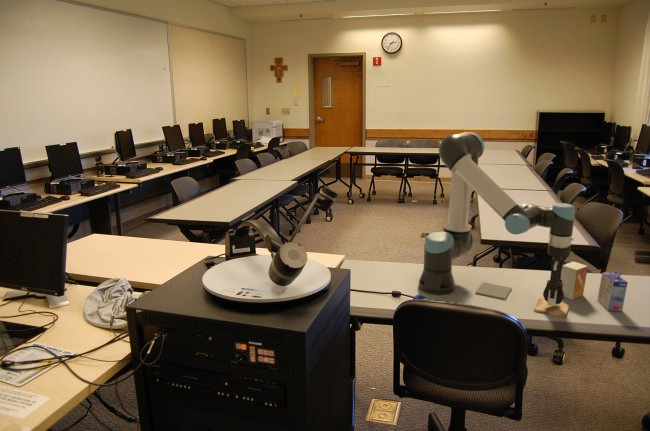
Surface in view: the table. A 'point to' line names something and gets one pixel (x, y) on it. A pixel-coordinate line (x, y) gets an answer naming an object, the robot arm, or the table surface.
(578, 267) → the small box
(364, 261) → the table surface
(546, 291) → the mate gourd
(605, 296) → the ink cartridge box
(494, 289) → the felt pad
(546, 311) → the square wooden coaster
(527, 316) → the table surface
